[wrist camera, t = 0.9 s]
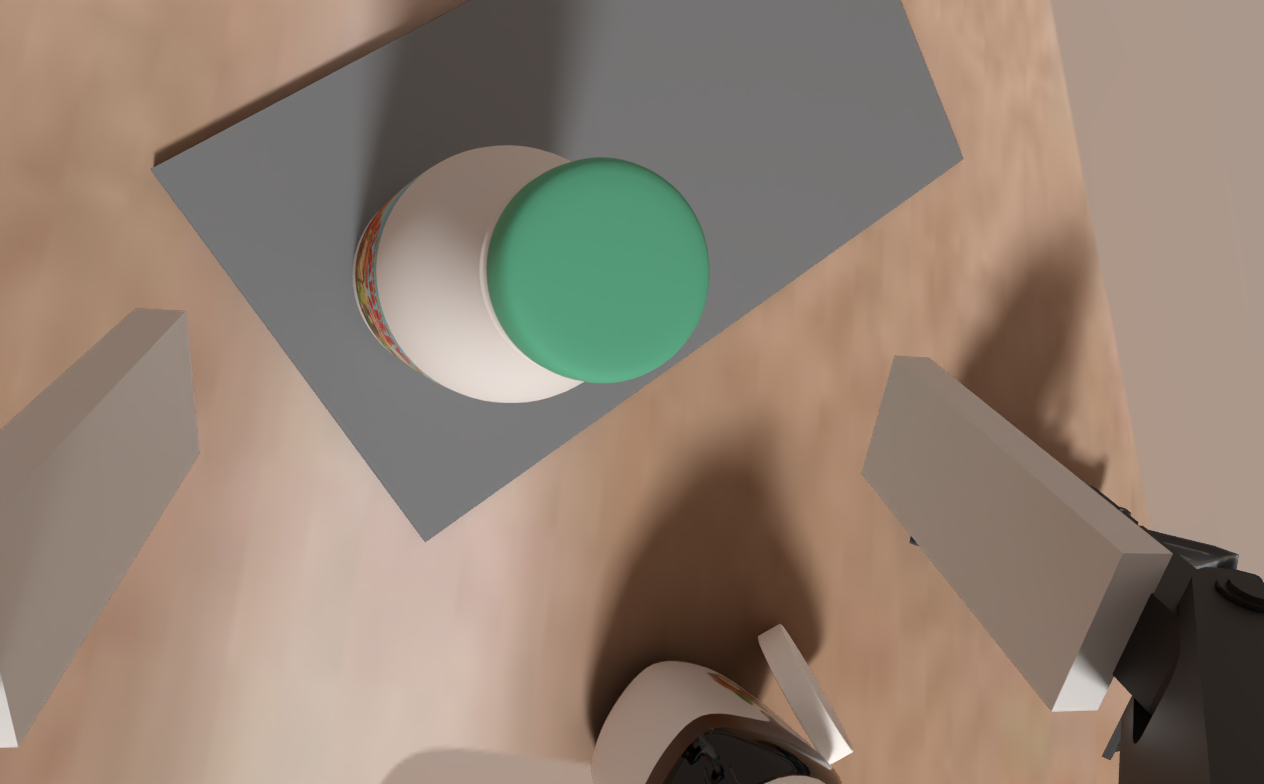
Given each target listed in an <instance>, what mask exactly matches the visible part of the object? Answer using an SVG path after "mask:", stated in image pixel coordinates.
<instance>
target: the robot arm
mask: <svg viewBox="0 0 1264 784" xmlns="http://www.w3.org/2000/svg"><path fill="white" fill-rule="evenodd" d="M199 454H200V450H199V440H198V430H197V420H196V409H195V399H194V389H193V379H192V368H191V358H190V348H189V338H188V327H187V317H186V311H178V310H162V309H147V308H135V309H134V310H133V311H132V312H131V313H130V314H129V315H128V316H126V317H125V318H124V319H123V320H122V321H121V322H120V323H119V324H118V325H116V326H115V327H114V328H113V329H112V330H111V331H110V332H109V333H108V334H106V335H105V336H104V337H103V338H102V339H101V340H100V341H99V342H98V343H96V344H95V345H94V346H93V347H92V348H91V349H90V350H89V351H87V352H86V353H85V354H84V355H83V356H82V357H81V358H80V359H79V360H77V361H76V362H75V363H74V364H73V365H72V366H71V367H70V368H69V369H67V370H66V371H65V372H64V373H63V374H62V375H61V376H60V377H59V378H57V379H56V380H55V381H54V382H53V383H52V384H51V385H50V386H49V387H47V388H46V389H45V390H44V391H43V392H42V393H41V394H40V395H38V396H37V397H36V398H35V399H34V400H33V401H32V402H31V403H30V404H28V405H27V406H26V407H25V408H24V409H23V410H22V411H21V412H20V413H18V414H17V415H16V416H15V417H14V418H13V419H12V420H11V421H10V422H8V423H7V424H6V425H5V426H4V427H3V428H2V429H1V430H0V748H1V747H18V746H19V745H20V743H21V742H22V740H23V738H24V737H25V735H26V733H27V732H28V730H29V729H30V727H31V725H32V724H33V722H34V721H35V719H36V717H37V716H38V714H39V712H40V711H41V709H42V708H43V706H44V704H45V703H46V701H47V699H48V698H49V696H50V695H51V693H52V691H53V690H54V688H55V687H56V685H57V683H58V682H59V680H60V678H61V677H62V675H63V674H64V672H65V670H66V669H67V667H68V666H69V664H70V662H71V661H72V659H73V657H74V656H75V654H76V653H77V651H78V649H79V648H80V646H81V645H82V643H83V641H84V640H85V638H86V636H87V635H88V633H89V632H90V630H91V628H92V627H93V625H94V623H95V622H96V620H97V619H98V617H99V615H100V614H101V612H102V611H103V609H104V607H105V606H106V604H107V602H108V601H109V599H110V598H111V596H112V594H113V593H114V591H115V590H116V588H117V586H118V585H119V583H120V581H121V580H122V578H123V577H124V575H125V573H126V572H127V570H128V568H129V567H130V565H131V564H132V562H133V560H134V559H135V557H136V556H137V554H138V552H139V551H140V549H141V547H142V546H143V544H144V543H145V541H146V539H147V538H148V536H149V535H150V533H151V531H152V530H153V528H154V526H155V525H156V523H157V522H158V520H159V518H160V517H161V515H162V514H163V512H164V510H165V509H166V507H167V505H168V504H169V502H170V501H171V499H172V497H173V496H174V494H175V492H176V491H177V489H178V488H179V486H180V484H181V483H182V481H183V480H184V478H185V476H186V475H187V473H188V471H189V470H190V468H191V467H192V465H193V463H194V462H195V460H196V459H197V457H198V455H199ZM861 474H862V475H863V476H864V478H865V479H866V480H867V481H868V483H869V484H870V485H871V486H872V488H873V489H874V490H875V491H876V493H877V494H878V495H879V496H880V498H881V499H882V500H883V501H884V503H885V504H886V505H887V506H888V508H889V509H890V510H891V511H892V513H893V514H894V515H895V516H896V518H897V519H898V520H899V521H900V523H901V524H902V525H903V526H904V528H905V529H906V530H907V531H908V533H909V534H910V535H911V536H912V538H913V539H914V540H915V541H916V543H917V544H918V545H919V546H920V548H921V549H922V550H923V551H924V553H925V554H926V555H927V556H928V558H929V559H930V560H931V561H932V563H933V564H934V565H935V566H936V568H937V569H938V570H939V572H940V573H941V574H942V575H943V577H944V578H945V579H946V580H947V582H948V583H949V584H950V585H951V587H952V588H953V589H954V590H955V592H956V593H957V594H958V595H959V597H960V598H961V599H962V600H963V602H964V603H965V604H966V605H967V607H968V608H969V609H970V610H971V612H972V613H973V614H974V615H975V617H976V618H977V619H978V620H979V622H980V623H981V624H982V625H983V627H984V628H985V629H986V630H987V632H988V633H989V634H990V635H991V637H992V638H993V639H994V640H995V642H996V643H997V644H998V645H999V647H1000V648H1001V649H1002V650H1003V652H1004V653H1005V654H1006V655H1007V657H1008V658H1009V659H1010V660H1011V662H1012V663H1013V664H1014V665H1015V667H1016V668H1017V669H1018V670H1019V672H1020V673H1021V674H1022V675H1023V677H1024V678H1025V679H1026V680H1027V682H1028V683H1029V684H1030V685H1031V687H1032V688H1033V689H1034V690H1035V692H1036V693H1037V694H1038V695H1039V697H1040V698H1041V699H1042V700H1043V702H1044V703H1045V704H1046V705H1047V707H1048V708H1049V709H1050V710H1051V712H1054V711H1083V710H1098V708H1099V706H1100V704H1101V702H1102V700H1103V698H1104V696H1105V694H1106V691H1107V689H1108V687H1109V685H1110V683H1111V681H1112V679H1113V677H1115V678H1116V679H1117V680H1118V681H1119V682H1120V683H1121V684H1122V685H1123V686H1124V687H1125V688H1126V689H1127V690H1128V692H1129V693H1130V694H1131V695H1132V697H1131V699H1130V701H1129V703H1128V705H1127V707H1126V709H1125V711H1124V713H1123V715H1122V717H1121V719H1120V721H1119V723H1118V725H1117V727H1116V729H1115V731H1114V733H1113V735H1112V737H1111V739H1110V741H1109V743H1108V745H1107V747H1106V749H1105V751H1104V753H1103V755H1102V757H1104V758H1106V759H1109V760H1111V758H1112V757H1113V755H1114V753H1115V752H1117V751H1120V763H1119V784H1264V582H1261V581H1259V580H1257V579H1254V578H1252V577H1249V576H1247V575H1245V574H1242V573H1239V572H1235V571H1231V570H1227V569H1224V568H1215V567H1203V568H1200V569H1196V568H1195V567H1194V566H1193V565H1191V564H1190V563H1189V562H1188V561H1186V560H1185V559H1184V558H1183V557H1181V556H1180V555H1179V554H1177V553H1176V552H1175V551H1174V550H1172V549H1171V548H1170V547H1169V546H1167V545H1166V544H1165V543H1164V542H1162V541H1161V540H1160V539H1159V538H1157V537H1156V536H1155V535H1154V534H1152V533H1151V532H1150V531H1149V530H1147V529H1146V528H1145V527H1144V526H1138V522H1137V521H1136V520H1135V519H1134V518H1132V517H1131V516H1130V515H1129V514H1127V513H1126V512H1125V511H1120V507H1119V506H1117V505H1116V504H1115V503H1114V502H1112V501H1111V500H1110V499H1109V498H1107V497H1106V496H1105V495H1104V494H1102V493H1101V492H1100V491H1099V490H1097V489H1095V488H1094V487H1092V486H1090V485H1088V484H1086V483H1084V482H1083V481H1082V480H1081V479H1079V478H1078V477H1077V476H1076V475H1074V474H1073V473H1072V472H1071V471H1069V470H1068V469H1067V468H1066V467H1064V466H1063V465H1062V464H1061V463H1059V462H1058V461H1057V460H1056V459H1054V458H1053V457H1052V456H1051V455H1049V454H1048V453H1047V452H1046V451H1045V450H1043V449H1042V448H1041V447H1040V446H1038V445H1037V444H1036V443H1035V442H1033V441H1032V440H1031V439H1030V438H1028V437H1027V436H1026V435H1025V434H1023V433H1022V432H1021V431H1020V430H1018V429H1017V428H1016V427H1015V426H1013V425H1012V424H1011V423H1010V422H1008V421H1007V420H1006V419H1005V418H1003V417H1002V416H1001V415H1000V414H998V413H997V412H996V411H995V410H993V409H992V408H991V407H990V406H989V405H987V404H986V403H985V402H984V401H982V400H981V399H980V398H979V397H977V396H976V395H975V394H974V393H972V392H971V391H970V390H969V389H967V388H966V387H965V386H964V385H962V384H961V383H960V382H959V381H957V380H956V379H955V378H954V377H952V376H951V375H950V374H949V373H947V372H946V371H945V370H944V369H942V368H941V367H940V366H939V365H937V364H936V363H935V362H934V361H933V360H931V359H930V358H926V357H910V356H894V359H893V363H892V367H891V370H890V374H889V377H888V381H887V384H886V388H885V391H884V395H883V398H882V402H881V406H880V409H879V413H878V416H877V420H876V423H875V427H874V430H873V434H872V438H871V441H870V445H869V448H868V452H867V455H866V459H865V462H864V466H863V470H862V473H861Z"/></svg>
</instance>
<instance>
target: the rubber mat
mask: <svg viewBox="0 0 1264 784" xmlns="http://www.w3.org/2000/svg"><path fill="white" fill-rule="evenodd" d="M501 145H514V146H525V147H531V148H536V149H540V150H543V151H547V152H550V153H553V154H556V155H559V156H561V157H564V158H566V159H568V160H570V161H571V162H573V161H576V160H580V159H586V158H595V157H607V158H616V159H622V160H626V161H629V162H633V163H635V164H638V165H640V166H643V167H645V168H647V169H649V170H651V171H653V172H655V173H657V174H658V175H660V176H661V177H663V178H664V179H665V180H667V181H668V182H669V183H670V184H672V185H673V186H674V187H675V188H676V189H677V190H678V191H679V192H680V193H681V195H682V196H683V197H684V198H685V199H686V201H687V202H688V204H689V205H690V207H691V208H692V210H693V211H694V213H695V215H696V217H697V219H698V221H699V223H700V225H701V228H702V231H703V233H704V236H705V240H706V244H707V248H708V254H709V264H710V279H709V289H708V294H707V299H706V303H705V306H704V310H703V312H702V315H701V317H700V320H699V322H698V324H697V326H696V328H695V329H694V331H693V333H692V334H691V336H690V337H689V339H688V340H687V341H686V343H685V344H684V345H683V346H682V347H681V349H680V350H679V351H678V352H677V353H676V354H675V355H674V356H673V357H671V358H670V359H669V360H668V361H666V362H665V363H664V364H662V365H661V366H659V367H658V368H656V369H654V370H652V371H650V372H648V373H646V374H644V375H642V376H639V377H637V378H634V379H631V380H627V381H623V382H616V383H590V382H583V383H581V384H579V385H578V386H576V387H574V388H572V389H570V390H568V391H566V392H563V393H561V394H558V395H555V396H552V397H550V398H546V399H542V400H538V401H531V402H522V403H501V402H490V401H483V400H479V399H475V398H471V397H468V396H466V395H463V394H460V393H458V392H455V391H453V390H450V389H448V388H446V387H444V386H442V385H439V384H437V383H436V382H434V381H432V380H431V379H429V378H427V377H426V376H424V375H422V374H421V373H419V372H418V371H416V370H414V369H413V368H411V367H410V366H409V365H407V364H406V363H404V362H403V361H401V360H400V359H399V358H397V357H396V356H395V355H393V354H392V353H390V352H389V351H388V350H387V349H386V348H385V347H384V346H383V345H382V344H381V343H380V342H379V341H378V340H377V339H376V338H375V336H374V335H373V334H372V332H371V331H370V330H369V328H368V327H367V325H366V323H365V322H364V320H363V318H362V316H361V314H360V311H359V309H358V306H357V303H356V299H355V295H354V289H353V278H352V272H353V262H354V256H355V252H356V249H357V246H358V243H359V240H360V238H361V236H362V234H363V232H364V230H365V228H366V227H367V225H368V224H369V222H370V221H371V219H372V218H373V217H374V216H375V214H376V213H377V212H378V211H379V210H380V209H381V208H382V207H383V206H384V205H385V204H386V203H387V202H388V201H389V200H390V199H391V198H393V197H394V196H395V195H396V194H397V193H398V192H399V191H400V190H402V189H403V188H404V187H405V186H406V185H408V184H409V183H410V182H411V181H413V180H414V179H415V178H416V177H418V176H419V175H420V174H421V173H423V172H425V171H426V170H428V169H429V168H431V167H433V166H434V165H436V164H438V163H440V162H442V161H444V160H446V159H448V158H450V157H452V156H454V155H457V154H459V153H462V152H465V151H469V150H473V149H476V148H483V147H490V146H501ZM961 160H963V156H962V154H961V151H960V149H959V146H958V144H957V141H956V139H955V136H954V134H953V131H952V129H951V126H950V124H949V121H948V119H947V116H946V114H945V111H944V109H943V106H942V104H941V101H940V99H939V96H938V94H937V91H936V89H935V86H934V84H933V81H932V79H931V76H930V74H929V71H928V69H927V66H926V64H925V61H924V59H923V56H922V54H921V51H920V49H919V46H918V44H917V41H916V39H915V36H914V34H913V31H912V29H911V26H910V24H909V21H908V19H907V16H906V14H905V11H904V9H903V6H902V4H901V1H900V0H470V1H468V2H466V3H464V4H462V5H460V6H458V7H457V8H455V9H453V10H451V11H449V12H447V13H445V14H443V15H441V16H440V17H438V18H436V19H434V20H432V21H430V22H428V23H426V24H424V25H422V26H421V27H419V28H417V29H415V30H413V31H411V32H409V33H407V34H405V35H404V36H402V37H400V38H398V39H396V40H394V41H392V42H390V43H388V44H386V45H385V46H383V47H381V48H379V49H377V50H375V51H373V52H371V53H369V54H368V55H366V56H364V57H362V58H360V59H358V60H356V61H354V62H352V63H350V64H349V65H347V66H345V67H343V68H341V69H339V70H337V71H335V72H333V73H332V74H330V75H328V76H326V77H324V78H322V79H320V80H318V81H316V82H314V83H313V84H311V85H309V86H307V87H305V88H303V89H301V90H299V91H297V92H296V93H294V94H292V95H290V96H288V97H286V98H284V99H282V100H280V101H279V102H277V103H275V104H273V105H271V106H269V107H267V108H265V109H263V110H261V111H260V112H258V113H256V114H254V115H252V116H250V117H248V118H246V119H244V120H243V121H241V122H239V123H237V124H235V125H233V126H231V127H229V128H227V129H225V130H224V131H222V132H220V133H218V134H216V135H214V136H212V137H210V138H208V139H207V140H205V141H203V142H201V143H199V144H197V145H195V146H193V147H191V148H189V149H188V150H186V151H184V152H182V153H180V154H178V155H176V156H174V157H172V158H171V159H169V160H167V161H165V162H163V163H161V164H159V165H157V166H155V167H153V168H152V169H150V170H151V171H152V172H153V174H154V175H155V176H156V178H157V179H158V180H159V182H160V183H161V185H162V186H163V187H164V189H165V190H166V191H167V193H168V194H169V195H170V197H171V198H172V199H173V201H174V202H175V204H176V205H177V206H178V208H179V209H180V210H181V212H182V213H183V214H184V216H185V217H186V218H187V220H188V221H189V223H190V224H191V225H192V227H193V228H194V229H195V231H196V232H197V233H198V235H199V236H200V237H201V239H202V240H203V242H204V243H205V244H206V246H207V247H208V248H209V250H210V251H211V252H212V254H213V255H214V256H215V258H216V259H217V261H218V262H219V263H220V265H221V266H222V267H223V269H224V270H225V271H226V273H227V274H228V275H229V277H230V278H231V280H232V281H233V282H234V284H235V285H236V286H237V288H238V289H239V290H240V292H241V293H242V294H243V296H244V297H245V299H246V300H247V301H248V303H249V304H250V305H251V307H252V308H253V309H254V311H255V312H256V313H257V315H258V316H259V318H260V319H261V320H262V322H263V323H264V324H265V326H266V327H267V328H268V330H269V331H270V332H271V334H272V335H273V337H274V338H275V339H276V341H277V342H278V343H279V345H280V346H281V347H282V349H283V350H284V351H285V353H286V354H287V356H288V357H289V358H290V360H291V361H292V362H293V364H294V365H295V366H296V368H297V369H298V370H299V372H300V373H301V375H302V376H303V377H304V379H305V380H306V381H307V383H308V384H309V385H310V387H311V388H312V389H313V391H314V392H315V394H316V395H317V396H318V398H319V399H320V400H321V402H322V403H323V404H324V406H325V407H326V408H327V410H328V411H329V413H330V414H331V415H332V417H333V418H334V419H335V421H336V422H337V423H338V425H339V426H340V427H341V429H342V430H343V432H344V433H345V434H346V436H347V437H348V438H349V440H350V441H351V442H352V444H353V445H354V446H355V448H356V449H357V451H358V452H359V453H360V455H361V456H362V457H363V459H364V460H365V461H366V463H367V464H368V465H369V467H370V468H371V470H372V471H373V472H374V474H375V475H376V476H377V478H378V479H379V480H380V482H381V483H382V484H383V486H384V487H385V489H386V490H387V491H388V493H389V494H390V495H391V497H392V498H393V499H394V501H395V502H396V503H397V505H398V506H399V508H400V509H401V510H402V512H403V513H404V514H405V516H406V517H407V518H408V520H409V521H410V522H411V524H412V525H413V527H414V528H415V529H416V531H417V532H418V533H419V535H420V536H421V537H422V539H423V540H424V541H425V542H426V541H428V540H429V539H431V538H432V537H433V536H435V535H436V534H438V533H439V532H440V531H442V530H443V529H445V528H446V527H447V526H449V525H450V524H452V523H453V522H454V521H456V520H457V519H459V518H460V517H461V516H463V515H464V514H466V513H467V512H468V511H470V510H471V509H473V508H474V507H475V506H477V505H478V504H480V503H481V502H483V501H484V500H485V499H487V498H488V497H490V496H491V495H492V494H494V493H495V492H497V491H498V490H499V489H501V488H502V487H504V486H505V485H506V484H508V483H509V482H511V481H512V480H513V479H515V478H516V477H518V476H519V475H520V474H522V473H523V472H525V471H526V470H527V469H529V468H530V467H532V466H533V465H534V464H536V463H537V462H539V461H540V460H541V459H543V458H544V457H546V456H547V455H549V454H550V453H551V452H553V451H554V450H556V449H557V448H558V447H560V446H561V445H563V444H564V443H565V442H567V441H568V440H570V439H571V438H572V437H574V436H575V435H577V434H578V433H579V432H581V431H582V430H584V429H585V428H586V427H588V426H589V425H591V424H592V423H593V422H595V421H596V420H598V419H599V418H600V417H602V416H603V415H605V414H606V413H608V412H609V411H610V410H612V409H613V408H615V407H616V406H617V405H619V404H620V403H622V402H623V401H624V400H626V399H627V398H629V397H630V396H631V395H633V394H634V393H636V392H637V391H638V390H640V389H641V388H643V387H644V386H645V385H647V384H648V383H650V382H651V381H652V380H654V379H655V378H657V377H658V376H659V375H661V374H662V373H664V372H665V371H666V370H668V369H669V368H671V367H672V366H674V365H675V364H676V363H678V362H679V361H681V360H682V359H683V358H685V357H686V356H688V355H689V354H690V353H692V352H693V351H695V350H696V349H697V348H699V347H700V346H702V345H703V344H704V343H706V342H707V341H709V340H710V339H711V338H713V337H714V336H716V335H717V334H718V333H720V332H721V331H723V330H724V329H725V328H727V327H728V326H730V325H731V324H732V323H734V322H735V321H737V320H738V319H740V318H741V317H742V316H744V315H745V314H747V313H748V312H749V311H751V310H752V309H754V308H755V307H756V306H758V305H759V304H761V303H762V302H763V301H765V300H766V299H768V298H769V297H770V296H772V295H773V294H775V293H776V292H777V291H779V290H780V289H782V288H783V287H784V286H786V285H787V284H789V283H790V282H791V281H793V280H794V279H796V278H797V277H799V276H800V275H801V274H803V273H804V272H806V271H807V270H808V269H810V268H811V267H813V266H814V265H815V264H817V263H818V262H820V261H821V260H822V259H824V258H825V257H827V256H828V255H829V254H831V253H832V252H834V251H835V250H836V249H838V248H839V247H841V246H842V245H843V244H845V243H846V242H848V241H849V240H850V239H852V238H853V237H855V236H856V235H857V234H859V233H860V232H862V231H863V230H865V229H866V228H867V227H869V226H870V225H872V224H873V223H874V222H876V221H877V220H879V219H880V218H881V217H883V216H884V215H886V214H887V213H888V212H890V211H891V210H893V209H894V208H895V207H897V206H898V205H900V204H901V203H902V202H904V201H905V200H907V199H908V198H909V197H911V196H912V195H914V194H915V193H916V192H918V191H919V190H921V189H922V188H923V187H925V186H926V185H928V184H929V183H931V182H932V181H933V180H935V179H936V178H938V177H939V176H940V175H942V174H943V173H945V172H946V171H947V170H949V169H950V168H952V167H953V166H954V165H956V164H957V163H959V162H960V161H961Z"/></svg>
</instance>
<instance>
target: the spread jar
mask: <svg viewBox="0 0 1264 784" xmlns="http://www.w3.org/2000/svg"><path fill="white" fill-rule="evenodd" d="M758 641H759V644H760V647H761V649H762V651H763V654H764V656H765V658H766V660H767V662H768V665H769V667H770V669H771V671H772V673H773V675H774V677H775V679H776V680H777V682H778V684H779V686H780V688H781V690H782V692H783V694H784V695H785V697H786V699H787V701H788V703H789V705H790V706H791V708H792V710H793V712H794V713H795V715H796V717H797V719H798V720H799V722H800V724H801V725H802V727H803V729H804V730H805V732H806V734H807V735H808V737H809V738H810V740H811V742H812V743H813V745H814V746H815V748H816V749H817V751H816V750H815V749H814V748H813V747H812V746H811V745H810V744H809V743H808V742H807V741H805V740H804V739H803V738H802V737H801V736H800V735H799V734H798V733H796V732H795V731H794V730H793V729H792V728H791V727H790V726H789V725H788V724H786V723H785V722H784V721H783V720H782V719H781V718H780V717H779V716H777V715H776V714H775V713H774V712H773V711H771V710H770V709H769V708H768V707H767V706H765V705H764V704H763V703H762V702H761V701H759V700H758V699H757V698H755V697H754V696H753V695H751V694H750V693H748V692H747V691H746V690H744V689H743V688H742V687H740V686H739V685H738V684H736V683H735V682H733V681H732V680H730V679H728V678H727V677H725V676H723V675H722V674H720V673H718V672H716V671H714V670H712V669H710V668H708V667H705V666H703V665H700V664H697V663H693V662H689V661H682V660H663V661H658V662H655V663H652V664H650V665H648V666H647V667H645V668H644V669H642V670H641V671H640V672H639V673H638V674H637V675H635V676H634V677H633V678H632V680H631V681H630V682H629V683H628V684H627V685H626V687H625V688H624V689H623V690H622V692H621V693H620V694H619V696H618V697H617V699H616V700H615V702H614V703H613V705H612V707H611V709H610V710H609V712H608V714H607V716H606V718H605V720H604V722H603V725H602V727H601V730H600V732H599V735H598V738H597V741H596V745H595V749H594V753H593V757H592V762H591V773H592V779H593V782H594V784H842V782H841V780H840V777H839V776H838V774H837V773H836V771H835V770H834V769H833V767H832V766H831V765H830V764H832V763H834V762H836V761H837V760H839V759H841V758H843V757H845V756H846V755H848V754H850V753H852V752H853V748H852V745H851V743H850V741H849V739H848V737H847V735H846V733H845V731H844V729H843V727H842V725H841V723H840V721H839V719H838V717H837V715H836V714H835V712H834V710H833V708H832V706H831V704H830V703H829V701H828V699H827V697H826V695H825V694H824V692H823V690H822V688H821V687H820V685H819V683H818V681H817V680H816V678H815V676H814V675H813V673H812V671H811V669H810V668H809V666H808V664H807V663H806V661H805V659H804V658H803V656H802V654H801V653H800V651H799V650H798V648H797V646H796V645H795V643H794V642H793V640H792V639H791V637H790V635H789V634H788V633H787V631H786V630H785V628H784V627H783V626H782V625H781V624H778V625H776V626H775V627H773V628H771V629H769V630H768V631H766V632H764V633H762V634H761V635H759V636H758Z"/></svg>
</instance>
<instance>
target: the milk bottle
mask: <svg viewBox="0 0 1264 784" xmlns="http://www.w3.org/2000/svg"><path fill="white" fill-rule="evenodd" d="M352 278H353V289H354V295H355V299H356V303H357V306H358V309H359V311H360V314H361V316H362V318H363V320H364V322H365V323H366V325H367V327H368V328H369V330H370V331H371V332H372V334H373V335H374V336H375V338H376V339H377V340H378V341H379V342H380V343H381V344H382V345H383V346H384V347H385V348H386V349H387V350H388V351H389V352H390V353H392V354H393V355H395V356H396V357H397V358H399V359H400V360H401V361H403V362H404V363H406V364H407V365H409V366H410V367H411V368H413V369H414V370H416V371H418V372H419V373H421V374H422V375H424V376H426V377H427V378H429V379H431V380H432V381H434V382H436V383H437V384H439V385H442V386H444V387H446V388H448V389H450V390H453V391H455V392H458V393H460V394H463V395H466V396H468V397H471V398H475V399H479V400H483V401H490V402H501V403H522V402H531V401H538V400H542V399H546V398H550V397H552V396H555V395H558V394H561V393H563V392H566V391H568V390H570V389H572V388H574V387H576V386H578V385H579V384H581V383H583V382H590V383H616V382H623V381H627V380H631V379H634V378H637V377H639V376H642V375H644V374H646V373H648V372H650V371H652V370H654V369H656V368H658V367H659V366H661V365H662V364H664V363H665V362H666V361H668V360H669V359H670V358H671V357H673V356H674V355H675V354H676V353H677V352H678V351H679V350H680V349H681V347H682V346H683V345H684V344H685V343H686V341H687V340H688V339H689V337H690V336H691V334H692V333H693V331H694V329H695V328H696V326H697V324H698V322H699V320H700V317H701V315H702V312H703V310H704V306H705V303H706V299H707V294H708V289H709V279H710V264H709V254H708V248H707V244H706V240H705V236H704V233H703V231H702V228H701V225H700V223H699V221H698V219H697V217H696V215H695V213H694V211H693V210H692V208H691V207H690V205H689V204H688V202H687V201H686V199H685V198H684V197H683V196H682V195H681V193H680V192H679V191H678V190H677V189H676V188H675V187H674V186H673V185H672V184H670V183H669V182H668V181H667V180H665V179H664V178H663V177H661V176H660V175H658V174H657V173H655V172H653V171H651V170H649V169H647V168H645V167H643V166H640V165H638V164H635V163H633V162H629V161H626V160H622V159H616V158H607V157H595V158H586V159H580V160H576V161H573V162H571V161H570V160H568V159H566V158H564V157H561V156H559V155H556V154H553V153H550V152H547V151H543V150H540V149H536V148H531V147H525V146H514V145H501V146H490V147H483V148H476V149H473V150H469V151H465V152H462V153H459V154H457V155H454V156H452V157H450V158H448V159H446V160H444V161H442V162H440V163H438V164H436V165H434V166H433V167H431V168H429V169H428V170H426V171H425V172H423V173H421V174H420V175H419V176H418V177H416V178H415V179H414V180H413V181H411V182H410V183H409V184H408V185H406V186H405V187H404V188H403V189H402V190H400V191H399V192H398V193H397V194H396V195H395V196H394V197H393V198H391V199H390V200H389V201H388V202H387V203H386V204H385V205H384V206H383V207H382V208H381V209H380V210H379V211H378V212H377V213H376V214H375V216H374V217H373V218H372V219H371V221H370V222H369V224H368V225H367V227H366V228H365V230H364V232H363V234H362V236H361V238H360V240H359V243H358V246H357V249H356V252H355V256H354V262H353V272H352Z"/></svg>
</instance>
